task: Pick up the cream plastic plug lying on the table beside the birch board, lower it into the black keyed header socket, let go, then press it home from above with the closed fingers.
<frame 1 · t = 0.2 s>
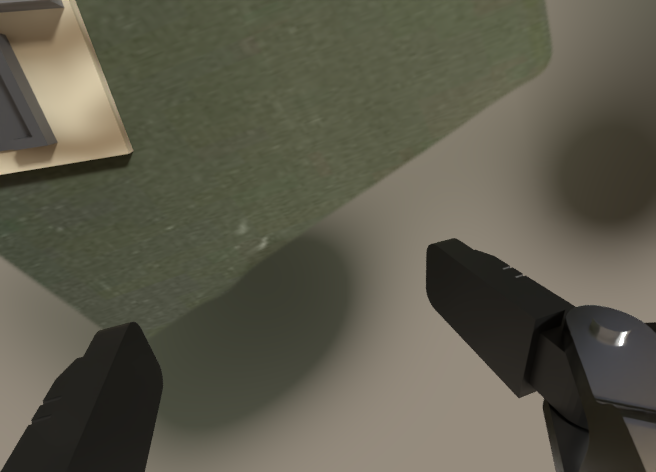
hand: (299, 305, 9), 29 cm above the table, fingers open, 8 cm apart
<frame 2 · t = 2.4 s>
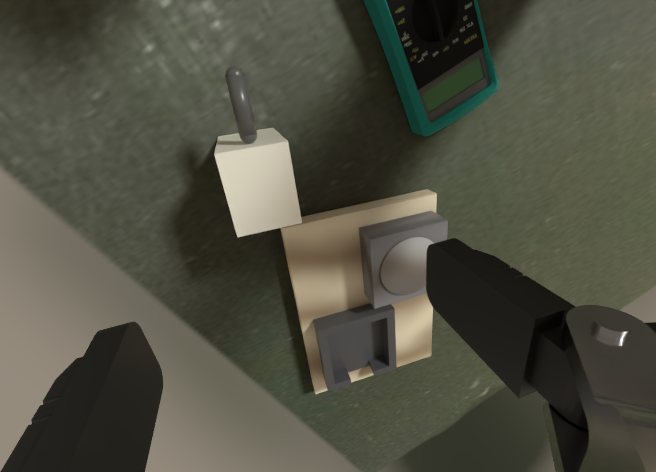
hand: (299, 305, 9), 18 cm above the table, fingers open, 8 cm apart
digital multimeter: (416, 25, 24), on the table
board: (364, 295, 33), on the table
header: (349, 330, 34), resting on board
plug: (253, 165, 25), on the table
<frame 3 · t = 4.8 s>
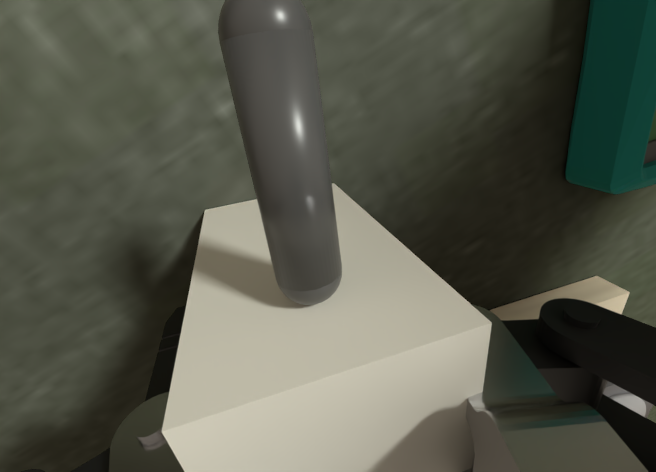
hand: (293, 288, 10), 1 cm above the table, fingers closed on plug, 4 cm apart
board: (462, 444, 19), on the table
plug: (286, 264, 11), on the table, touching gripper
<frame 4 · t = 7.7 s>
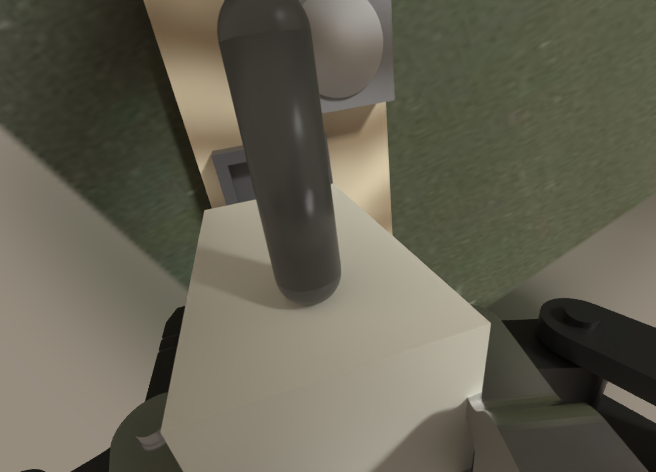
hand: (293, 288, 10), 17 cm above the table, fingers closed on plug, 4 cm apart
board: (292, 133, 24), on the table
header: (277, 189, 25), resting on board
plug: (286, 265, 11), point 15 cm above the table, touching gripper
when the fingers open (4 cm above the table, at t = 10.6 s): plug stays where it is, resting on header.
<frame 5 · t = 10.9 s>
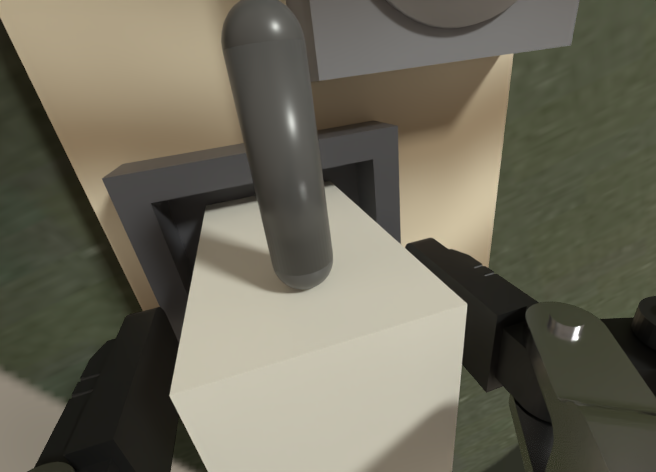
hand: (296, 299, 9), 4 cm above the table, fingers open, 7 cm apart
board: (310, 128, 11), on the table
header: (277, 239, 13), resting on board
plug: (284, 259, 11), point 2 cm above the table, touching header
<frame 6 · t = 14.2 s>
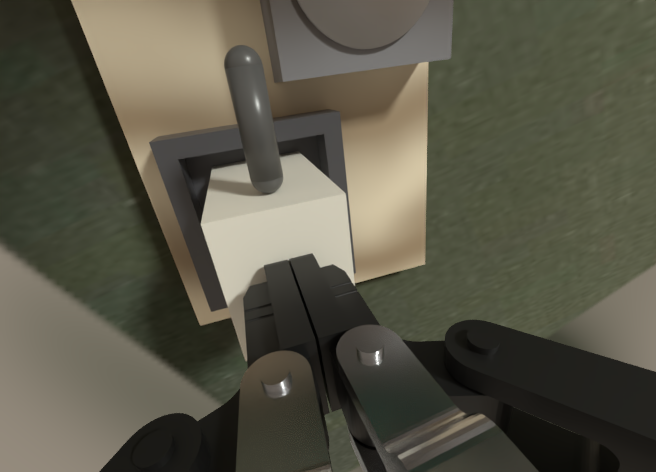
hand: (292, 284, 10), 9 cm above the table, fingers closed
board: (286, 115, 16), on the table
header: (263, 198, 17), resting on board
plug: (267, 208, 16), point 2 cm above the table, touching gripper, header
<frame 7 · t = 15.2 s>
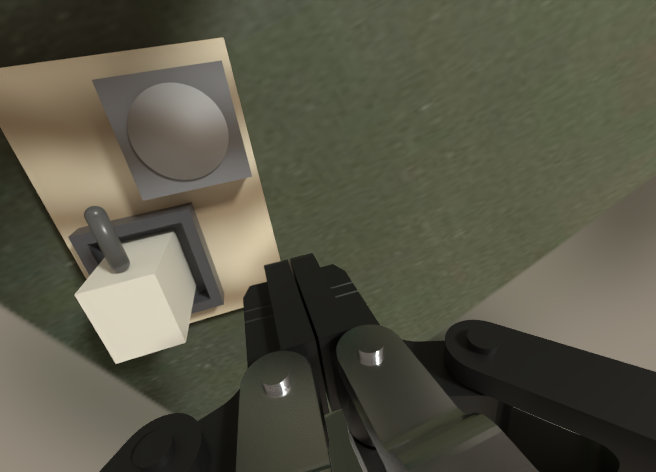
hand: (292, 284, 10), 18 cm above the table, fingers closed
board: (170, 203, 25), on the table
header: (162, 255, 26), resting on board
plug: (158, 265, 24), point 2 cm above the table, touching header
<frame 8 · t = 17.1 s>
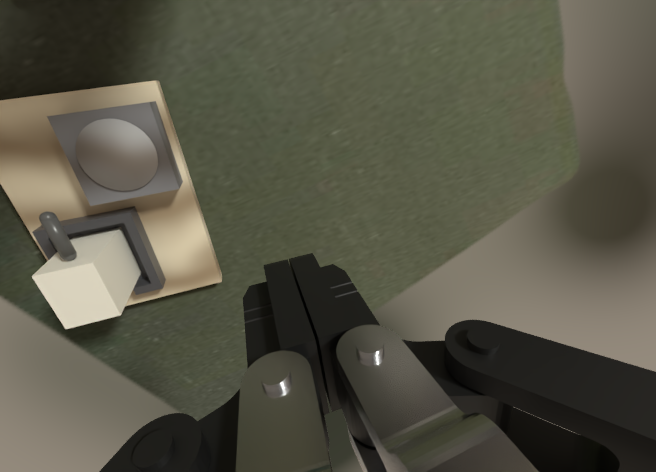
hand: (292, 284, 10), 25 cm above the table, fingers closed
board: (119, 206, 31), on the table
header: (114, 247, 32), resting on board
plug: (108, 255, 30), point 2 cm above the table, touching header
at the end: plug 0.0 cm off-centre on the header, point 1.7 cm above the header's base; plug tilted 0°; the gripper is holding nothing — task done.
